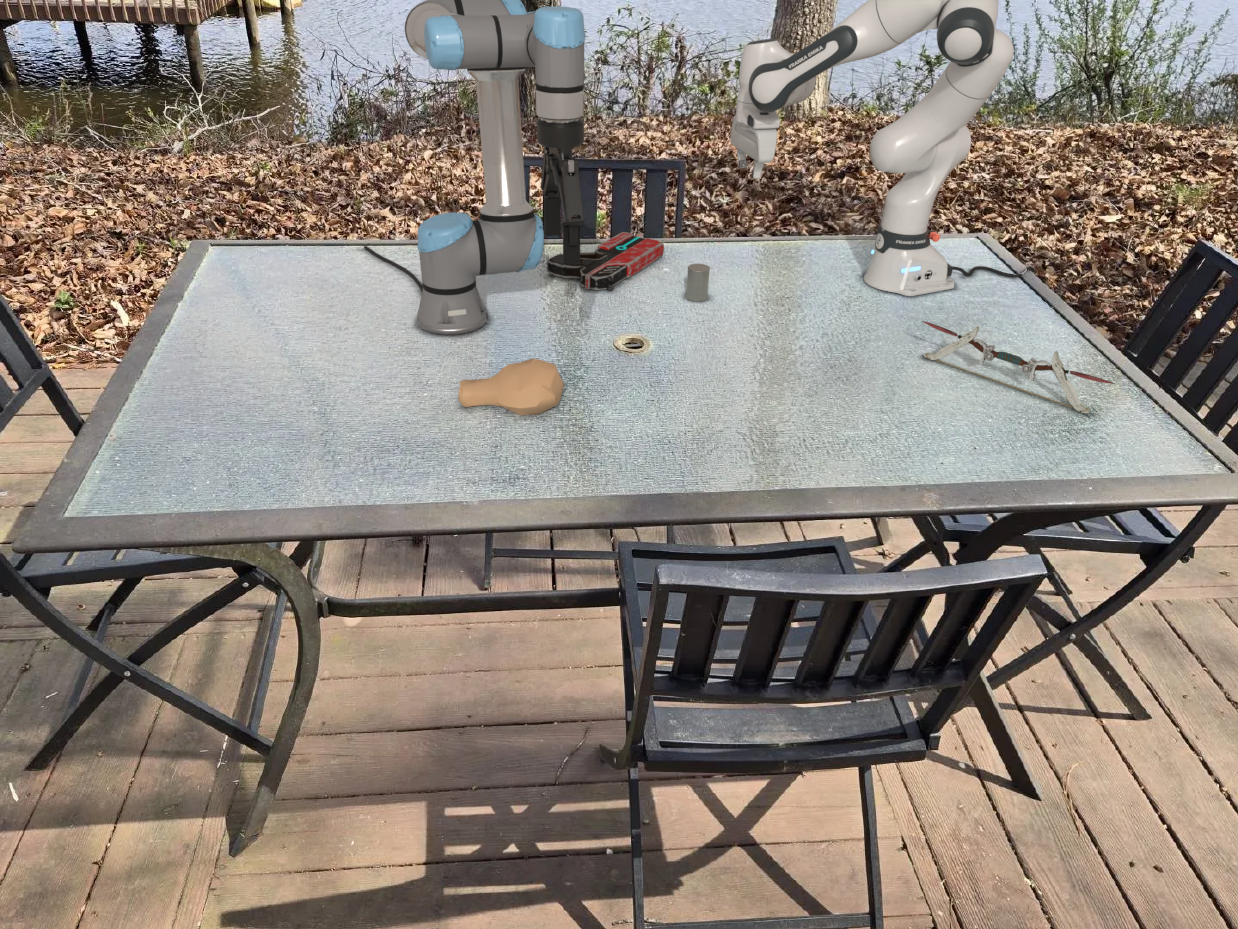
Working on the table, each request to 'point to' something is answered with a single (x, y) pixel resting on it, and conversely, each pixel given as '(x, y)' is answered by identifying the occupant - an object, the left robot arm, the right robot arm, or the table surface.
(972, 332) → the bow
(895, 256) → the right robot arm
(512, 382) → the squash
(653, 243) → the gun
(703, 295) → the can
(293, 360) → the table surface
